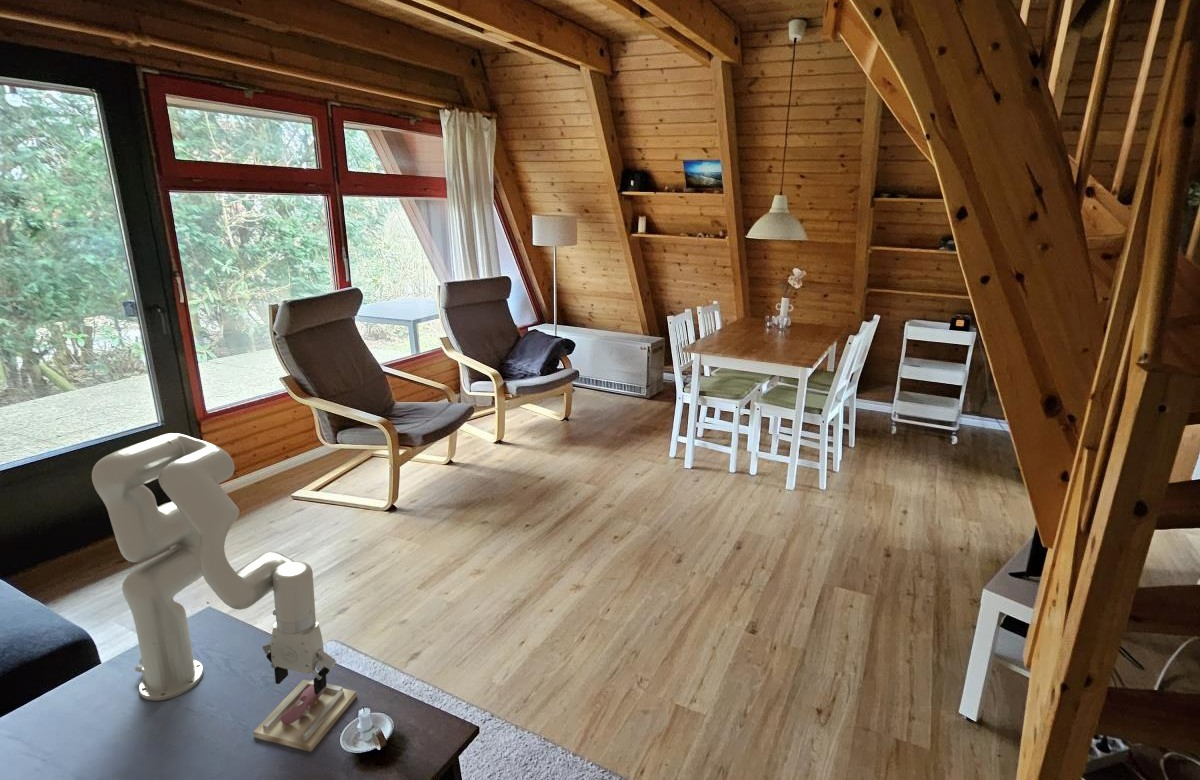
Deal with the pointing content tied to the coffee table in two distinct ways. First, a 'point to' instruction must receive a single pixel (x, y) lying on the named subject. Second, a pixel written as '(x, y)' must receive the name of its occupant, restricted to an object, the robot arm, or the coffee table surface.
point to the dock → (306, 717)
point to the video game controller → (302, 705)
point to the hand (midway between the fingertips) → (301, 684)
